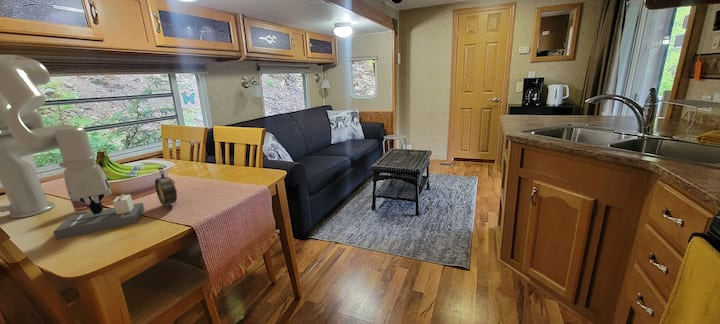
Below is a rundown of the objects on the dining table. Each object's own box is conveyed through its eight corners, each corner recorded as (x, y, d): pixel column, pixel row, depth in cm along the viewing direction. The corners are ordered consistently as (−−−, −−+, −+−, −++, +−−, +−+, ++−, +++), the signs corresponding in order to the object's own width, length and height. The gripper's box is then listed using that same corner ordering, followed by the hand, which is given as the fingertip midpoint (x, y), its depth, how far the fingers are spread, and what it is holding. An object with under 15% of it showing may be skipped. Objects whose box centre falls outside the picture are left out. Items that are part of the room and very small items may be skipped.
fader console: (56, 239, 96) (53, 231, 96) (72, 223, 107) (69, 215, 106) (136, 223, 105) (134, 215, 104) (144, 209, 115) (142, 202, 114)
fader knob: (116, 214, 105) (112, 200, 103) (121, 209, 109) (116, 195, 107) (130, 212, 106) (125, 197, 104) (133, 206, 111) (129, 192, 109)
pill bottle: (94, 210, 117) (85, 184, 113) (74, 215, 113) (63, 188, 110) (97, 205, 122) (88, 180, 118) (77, 209, 118) (67, 184, 115)
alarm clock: (159, 204, 120) (148, 166, 115) (173, 199, 123) (164, 162, 118) (167, 212, 112) (156, 172, 107) (182, 206, 116) (172, 168, 111)
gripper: (45, 170, 93) (66, 222, 98) (104, 163, 98) (120, 212, 104) (57, 164, 99) (75, 213, 105) (111, 157, 105) (126, 204, 111)
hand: (98, 212), depth 104 cm, fingers closed
